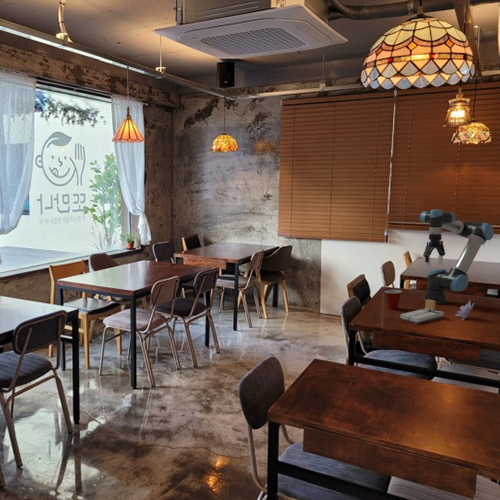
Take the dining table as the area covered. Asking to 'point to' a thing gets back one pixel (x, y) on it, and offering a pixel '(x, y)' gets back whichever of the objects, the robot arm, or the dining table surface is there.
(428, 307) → the fader knob
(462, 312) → the water lily
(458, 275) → the robot arm
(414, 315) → the fader console
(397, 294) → the plastic cup
